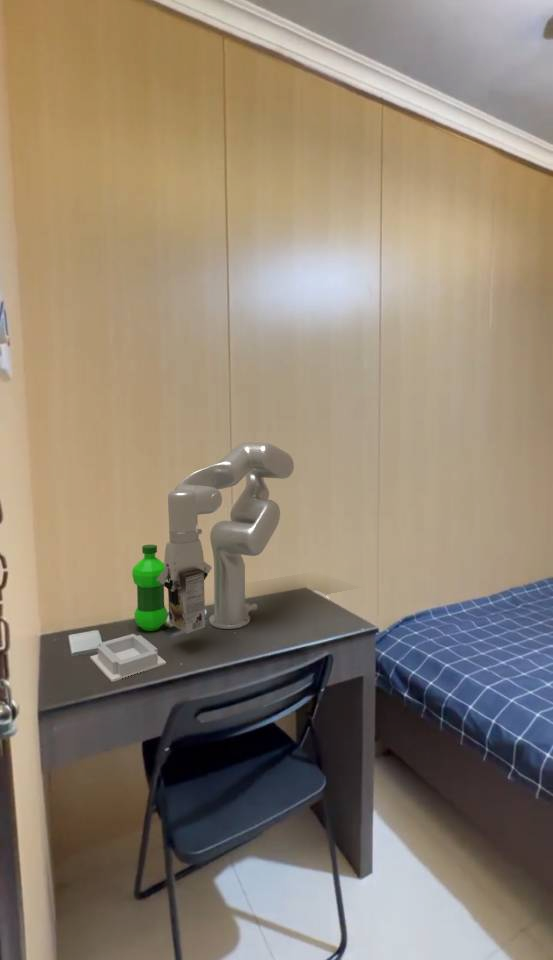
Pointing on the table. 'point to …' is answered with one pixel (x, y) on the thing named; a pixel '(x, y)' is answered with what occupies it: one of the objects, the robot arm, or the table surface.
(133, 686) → the table surface
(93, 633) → the hard drive
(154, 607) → the plastic bottle
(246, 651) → the table surface
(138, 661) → the tray
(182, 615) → the coffee box
